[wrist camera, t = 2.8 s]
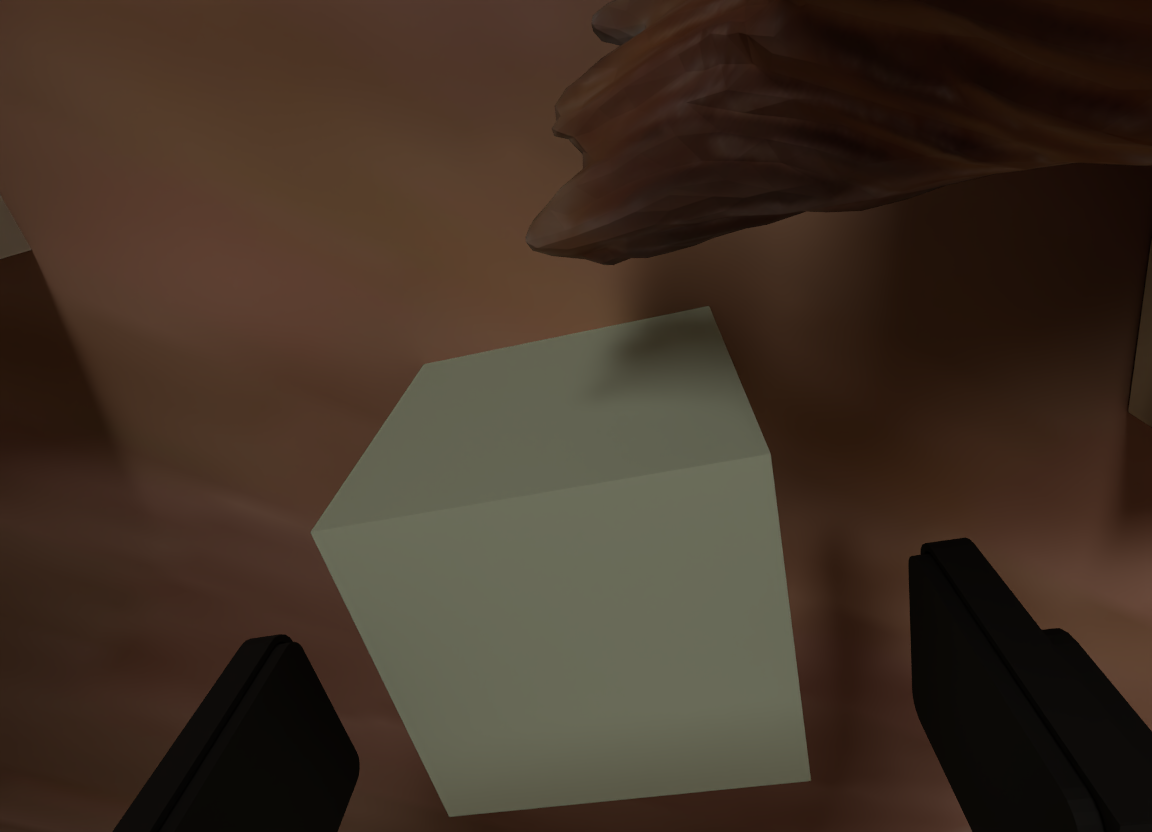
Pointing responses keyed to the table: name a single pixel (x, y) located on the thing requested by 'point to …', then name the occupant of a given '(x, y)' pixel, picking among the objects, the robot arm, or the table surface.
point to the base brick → (1144, 358)
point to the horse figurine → (832, 110)
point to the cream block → (10, 234)
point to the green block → (576, 572)
